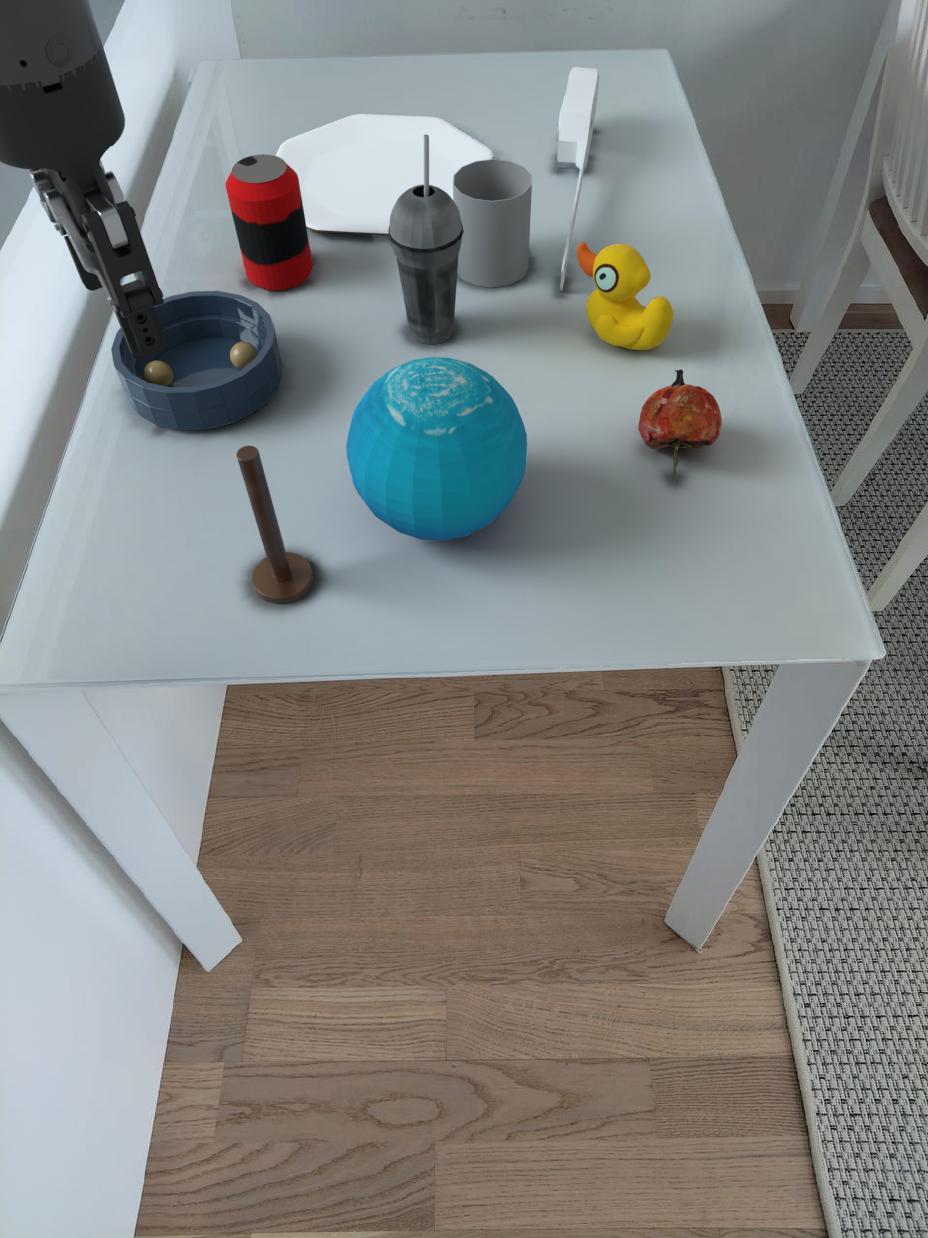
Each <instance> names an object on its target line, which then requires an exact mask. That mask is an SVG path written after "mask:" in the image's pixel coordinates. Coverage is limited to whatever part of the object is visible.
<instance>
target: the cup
mask: <svg viewBox="0 0 928 1238" xmlns="http://www.w3.org/2000/svg"><path fill="white" fill-rule="evenodd" d="M532 192H533V175H532V174H531V173H530V172H529V171H528V170H527V168H526V167H525V166H523V165H520V164H518V163H515V162H514V161H511V160H505V159H495V158H493V159H489V160H481V161H475V162H472V163H470V164H467V165H465V166H463V167H461V168H460V169H459V170H458V171H457V172H456V173H455V174H454V176H453V201H454V202H455V204H456V205H457V207H458V210H459V213H460V217H461V222H462V225H463V231H464V233H463V235H462V242H461V247H460V251H459V254H458V270H457V276H458V277H459V278H461V280H463V281H465V282H466V283H469V284H471V285H473V286H476V287H482V288H483V287H484V288H491V289H493V288H501V287H507V286H510V285H513V284H514V283H516V282H519V281H520V280H522V279H523V278H524V276H525V275H526V274H527V272H528V271H529V261H530V260H529V258H530V238H531V237H530V236H531V216H532V215H531V213H532Z"/></svg>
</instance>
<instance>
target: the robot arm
mask: <svg viewBox="0 0 928 1238" xmlns="http://www.w3.org/2000/svg"><path fill="white" fill-rule="evenodd" d="M125 127H126V116H125V112H124V109H123V106H122V102H121V100H120V96H119V93H118V90H117V87H116V84H115V80H114V76H113V74H112V70H111V68H110V64H109V61H108V58H107V54H106V51H105V48H104V44H103V42H102V38H101V35H100V32H99V28H98V25H97V22H96V19H95V17H94V13H93V10H92V5H91V2H90V0H0V163H2V164H4V165H7V166H9V167H13V168H15V169H22V170H29V172H28V175H29V178H30V181H31V184H32V185H33V187H34V189H35V192H36V194H37V195H38V197H39V202H40V204H41V206H42V208H43V210H44V211H45V214H46V216H47V218H48V219H49V221H50V223H52V224H53V226H54V229H55V231H56V232H59V235H60V236H61V237H63V239H64V241H65V244H66V246H67V248H68V251H69V254H70V256H71V258H72V261H73V264H74V266H75V268H76V271H77V274H78V276H79V279H80V280H81V283H82V284H83V286H84V287H85V288H86V289H87V290H88V291H90V292H92V291H96V290H98V289H99V290H100V289H103V291H104V292H105V293H104V294H105V295H106V301H107V303H108V305H109V306H110V307H112V308H113V312H114V314H115V316H116V320H117V322H118V324H119V327H120V328H121V330H122V332H123V335H124V337H125V340H126V343H127V345H128V348H129V350H130V352H131V353H132V354H133V356H134V357H135V358H137V359H143V358H146V357H148V356H151V355H153V354H156V353H158V352H161V351H163V350H164V349H165V348H166V346H167V342H166V339H165V336H164V333H163V330H162V327H161V324H160V321H159V318H158V316H157V313H156V310H155V307H154V306H158V305H161V304H163V303H164V300H163V299H164V293H163V291H162V289H161V287H160V286H159V283H158V280H157V276H156V273H155V271H154V268H153V265H152V261H151V260H150V256H149V254H148V251H147V250H148V249H147V247H146V245H145V242H144V238H143V236H142V234H141V230H140V228H139V224H138V221H137V214H136V211H135V209H134V208H133V206H131V204H130V203H129V201H128V200H124V199H125V196H124V195H125V194H124V192H123V190H122V188H121V186H120V183H119V181H118V180H117V177H116V175H115V173H114V172H113V171H112V170H109V171H105V167H104V165H103V162H102V158H103V156H104V154H106V152H107V151H108V150H109V149H110V148H111V147H113V146H114V145H115V144H117V142H118V141H119V140H120V139H121V138H122V136H123V133H124V130H125ZM130 275H134V278H135V280H133V281H130V282H127V283H124V284H121V281H122V279H123V278H124V277H127V276H130Z"/></svg>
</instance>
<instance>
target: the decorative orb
mask: <svg viewBox="0 0 928 1238" xmlns="http://www.w3.org/2000/svg"><path fill="white" fill-rule="evenodd" d="M525 427H526V426H525V423H524V421H523V419H522V416H521V414H520V411H519V409H518V406H517V404H516V402H515V400H514V399H513V397H512V396H511V395H510V393H509V392H508V391H507V390H506V389H505V387H504V386H503V385H502V384H500V383H499V381H498V380H497V379H496V378H495V377H494V376H493V375H491V374H490V373H488V372H487V371H485V370H484V369H482V368H480V367H478V366H476V365H474V364H472V363H471V362H468V361H463V360H459V359H457V358H456V359H455V358H452V357H442V356H429V357H421V358H416V359H412V360H410V361H407V362H405V363H402V364H399V365H397V366H394V367H393V368H391V369H389V370H388V371H386V372H385V373H384V374H383V375H381V376H380V377H379V378H377V379H376V380H375V381H374V382H373V383H372V384H371V385H370V386H369V388H368V389H367V391H366V392H365V393H364V395H363V396H362V398H361V399H360V400H359V402H358V403H357V405H356V406H355V408H354V410H353V414H352V416H351V420H350V425H349V429H348V434H347V439H346V458H347V463H348V467H349V472H350V475H351V480H352V483H353V486H354V488H355V490H356V492H357V494H358V495H359V497H360V498H361V500H362V502H364V504H365V505H366V506H367V508H368V509H369V510H370V512H371V513H372V514H373V515H374V516H375V517H376V518H377V519H378V520H379V521H381V522H383V523H385V524H386V525H387V526H388V527H390V528H392V529H393V530H395V531H396V532H398V533H399V534H402V535H405V536H409V537H412V538H416V539H418V540H422V541H423V540H424V541H425V540H426V541H449V540H454V539H459V538H465V537H467V536H469V535H472V534H474V533H476V532H478V531H480V530H482V529H484V528H486V527H487V526H489V525H490V524H491V523H492V522H494V520H496V519H497V518H498V517H499V516H500V515H501V514H503V512H505V510H507V509H508V508H509V506H510V504H511V503H512V501H513V499H514V497H515V495H516V493H517V492H518V490H519V488H520V486H521V484H522V481H523V479H524V477H525V472H526V466H527V451H528V436H527V434H528V433H527V431H526V428H525Z"/></svg>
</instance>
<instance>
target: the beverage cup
mask: <svg viewBox="0 0 928 1238" xmlns="http://www.w3.org/2000/svg"><path fill="white" fill-rule="evenodd" d="M388 232H389V236H388V238H389V240H390V243H391V247H392V250H393V254H394V256H395V258H396V263H397V269H398V274H399V280H400V286H401V292H402V296H403V303H404V307H405V313H406V319H407V323H408V327H409V330H410V336H411V337H412V339H414V340H415V341H416V342H418V343H419V344H420V343H421V344H424V345H438V344H441V343H444V342H446V341H447V340H449V339H450V338H451V337H452V335H453V333H454V330H453V327H454V322H455V315H456V314H455V312H456V298H457V285H458V284H457V282H458V273H457V270H458V254H459V251H460V247H461V242H462V235H463V233H464V231H463V225H462V222H461V217H460V213H459V210H458V207H457V205H456V204H455V202H454V201H453V199H452V198H451V197H450V196H449V195H448V194H447V193H446V192H445V191H443V190H442V189H440V188H438V187H435V186H432V185H429V135H424V185H417V186H414V187H412V188H410V189H408V190H406V191H405V192H404V193H403V194H402V195H401V196H400V197H399V198H398V199H397V201H396V203H395V205H394V207H393V209H392V212H391V215H390V226H389V230H388Z"/></svg>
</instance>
